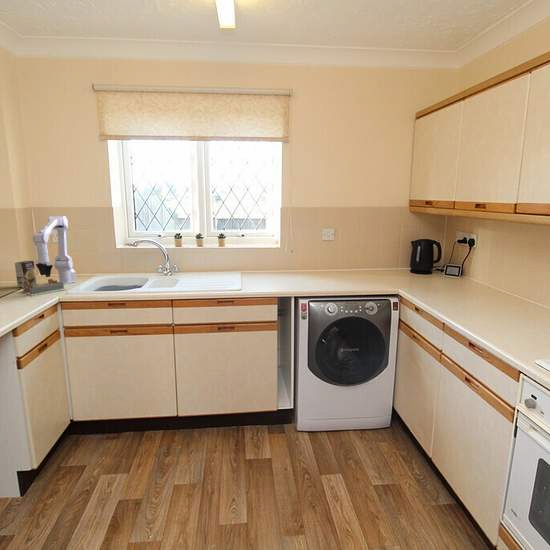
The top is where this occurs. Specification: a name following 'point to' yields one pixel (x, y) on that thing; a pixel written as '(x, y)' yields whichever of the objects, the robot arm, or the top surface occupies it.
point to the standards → (27, 285)
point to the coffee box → (25, 273)
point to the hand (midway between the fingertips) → (45, 275)
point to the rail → (46, 288)
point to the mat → (45, 292)
